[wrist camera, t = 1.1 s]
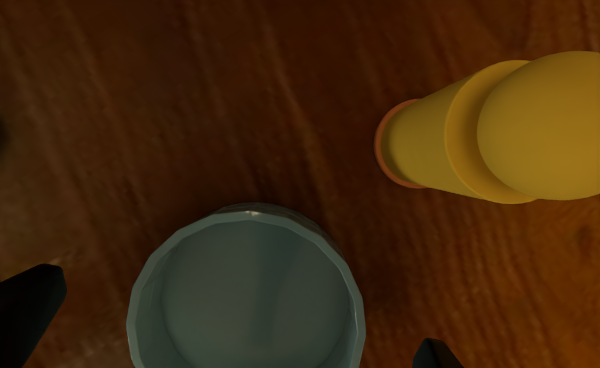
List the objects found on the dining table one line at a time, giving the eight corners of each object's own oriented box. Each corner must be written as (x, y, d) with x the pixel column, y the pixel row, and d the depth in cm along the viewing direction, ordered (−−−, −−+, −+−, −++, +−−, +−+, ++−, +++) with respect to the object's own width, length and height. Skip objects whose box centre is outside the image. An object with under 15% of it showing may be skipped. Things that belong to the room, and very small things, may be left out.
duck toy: (399, 203, 22) (573, 282, 8) (357, 128, 22) (462, 75, 8) (485, 154, 22) (815, 148, 8) (443, 77, 21) (714, -72, 7)
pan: (362, 381, 23) (375, 428, 19) (172, 402, 23) (145, 453, 19) (343, 191, 22) (353, 199, 18) (144, 213, 22) (110, 226, 18)
